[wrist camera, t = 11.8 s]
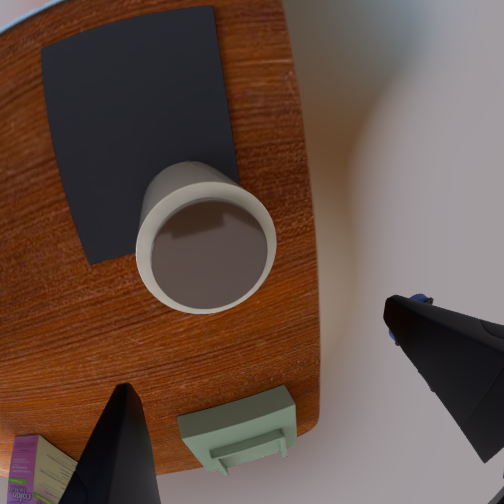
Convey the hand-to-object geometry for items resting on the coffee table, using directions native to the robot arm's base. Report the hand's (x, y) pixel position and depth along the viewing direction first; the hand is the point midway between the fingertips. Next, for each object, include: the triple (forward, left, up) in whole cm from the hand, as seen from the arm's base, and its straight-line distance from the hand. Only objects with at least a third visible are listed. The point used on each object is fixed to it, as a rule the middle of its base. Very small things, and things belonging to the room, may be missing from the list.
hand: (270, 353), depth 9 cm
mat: (+3, -7, -12) cm, 14 cm away
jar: (+1, -2, -12) cm, 12 cm away
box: (+29, +24, -12) cm, 40 cm away
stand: (+2, +25, -12) cm, 28 cm away
